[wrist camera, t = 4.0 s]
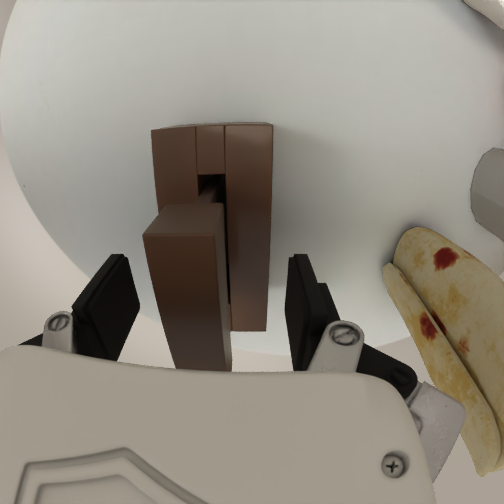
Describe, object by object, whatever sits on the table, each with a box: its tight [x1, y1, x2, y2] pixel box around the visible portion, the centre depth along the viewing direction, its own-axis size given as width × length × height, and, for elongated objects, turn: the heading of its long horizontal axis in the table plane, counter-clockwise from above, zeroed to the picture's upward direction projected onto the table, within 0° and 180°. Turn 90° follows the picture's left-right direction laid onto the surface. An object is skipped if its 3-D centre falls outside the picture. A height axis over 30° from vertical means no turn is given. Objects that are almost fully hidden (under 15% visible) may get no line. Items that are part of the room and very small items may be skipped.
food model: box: [383, 227, 504, 477], centre depth 13 cm, size 10×7×20 cm
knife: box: [142, 173, 232, 372], centre depth 14 cm, size 2×8×12 cm, turn 0°
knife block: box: [151, 122, 273, 332], centre depth 17 cm, size 6×13×5 cm, turn 0°
